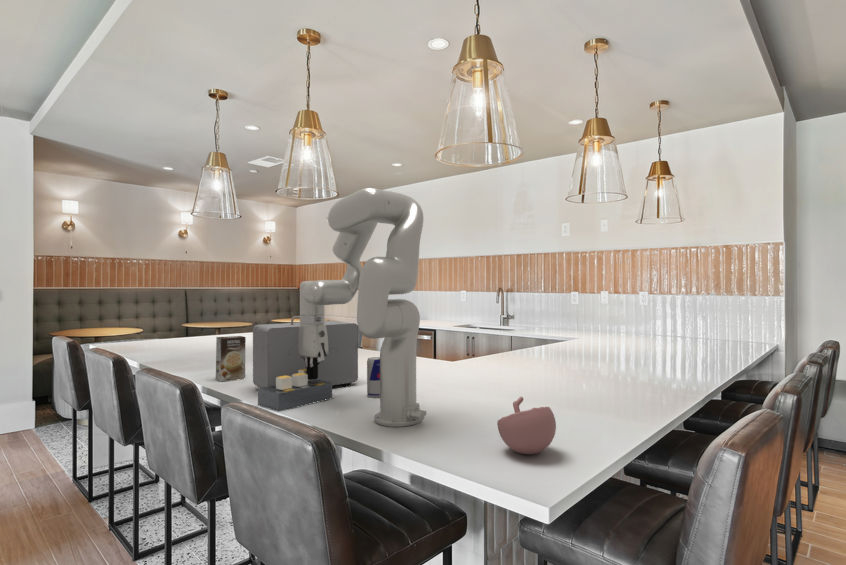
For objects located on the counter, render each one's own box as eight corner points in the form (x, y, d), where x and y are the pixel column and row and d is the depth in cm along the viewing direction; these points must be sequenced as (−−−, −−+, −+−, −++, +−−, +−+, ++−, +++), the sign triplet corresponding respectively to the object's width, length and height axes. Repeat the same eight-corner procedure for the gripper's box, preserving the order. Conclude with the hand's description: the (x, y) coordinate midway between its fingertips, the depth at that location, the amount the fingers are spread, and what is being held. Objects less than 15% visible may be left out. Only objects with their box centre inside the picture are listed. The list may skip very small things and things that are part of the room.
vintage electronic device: (335, 377, 180) (335, 312, 180) (358, 385, 165) (357, 314, 165) (251, 388, 161) (251, 316, 161) (267, 398, 146) (267, 319, 147)
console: (332, 398, 146) (332, 381, 146) (278, 411, 131) (278, 392, 131) (310, 393, 153) (310, 377, 153) (257, 405, 138) (257, 387, 138)
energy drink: (383, 398, 146) (382, 359, 146) (366, 398, 146) (365, 359, 147) (384, 394, 152) (384, 357, 152) (368, 394, 152) (368, 357, 152)
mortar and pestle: (529, 439, 106) (529, 389, 106) (568, 456, 96) (568, 400, 96) (486, 448, 101) (486, 395, 101) (523, 467, 90) (522, 408, 90)
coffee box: (220, 382, 171) (220, 338, 171) (215, 379, 176) (215, 337, 176) (245, 378, 177) (245, 336, 177) (240, 376, 182) (240, 335, 182)
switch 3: (307, 384, 141) (307, 373, 141) (298, 386, 139) (298, 375, 139) (301, 383, 143) (301, 372, 143) (292, 385, 140) (292, 374, 141)
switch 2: (312, 380, 148) (312, 369, 148) (303, 381, 146) (303, 370, 146) (307, 378, 150) (307, 368, 150) (298, 380, 148) (298, 369, 148)
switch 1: (291, 388, 137) (291, 376, 137) (281, 390, 134) (281, 378, 134) (286, 386, 139) (286, 375, 139) (276, 388, 136) (275, 377, 136)
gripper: (337, 320, 144) (337, 380, 144) (307, 318, 154) (307, 374, 154) (317, 322, 138) (317, 384, 138) (288, 319, 148) (288, 377, 148)
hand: (312, 378), depth 146 cm, fingers closed
